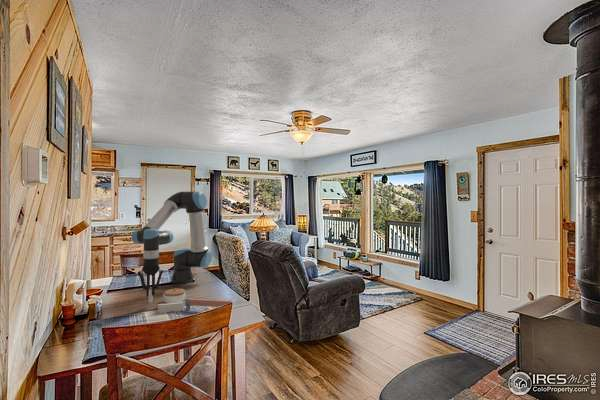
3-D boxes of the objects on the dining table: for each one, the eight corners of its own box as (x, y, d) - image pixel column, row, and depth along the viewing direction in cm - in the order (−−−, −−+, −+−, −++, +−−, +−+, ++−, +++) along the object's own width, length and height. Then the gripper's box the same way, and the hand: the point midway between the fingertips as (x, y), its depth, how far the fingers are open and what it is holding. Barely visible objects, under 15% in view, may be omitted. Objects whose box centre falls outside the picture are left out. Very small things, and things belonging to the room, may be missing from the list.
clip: (232, 306, 158) (232, 300, 158) (230, 308, 155) (230, 302, 155) (186, 303, 161) (186, 298, 161) (184, 305, 158) (184, 299, 158)
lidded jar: (162, 309, 160) (162, 291, 160) (165, 302, 170) (165, 286, 170) (184, 307, 163) (184, 290, 163) (186, 301, 173) (186, 285, 173)
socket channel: (163, 301, 173) (163, 294, 173) (192, 298, 178) (192, 291, 178) (157, 313, 154) (157, 305, 154) (190, 310, 159) (190, 302, 159)
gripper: (136, 259, 158) (135, 305, 157) (163, 258, 161) (162, 302, 161) (139, 257, 165) (138, 300, 164) (165, 256, 169) (164, 298, 168)
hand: (150, 301), depth 163 cm, fingers closed
